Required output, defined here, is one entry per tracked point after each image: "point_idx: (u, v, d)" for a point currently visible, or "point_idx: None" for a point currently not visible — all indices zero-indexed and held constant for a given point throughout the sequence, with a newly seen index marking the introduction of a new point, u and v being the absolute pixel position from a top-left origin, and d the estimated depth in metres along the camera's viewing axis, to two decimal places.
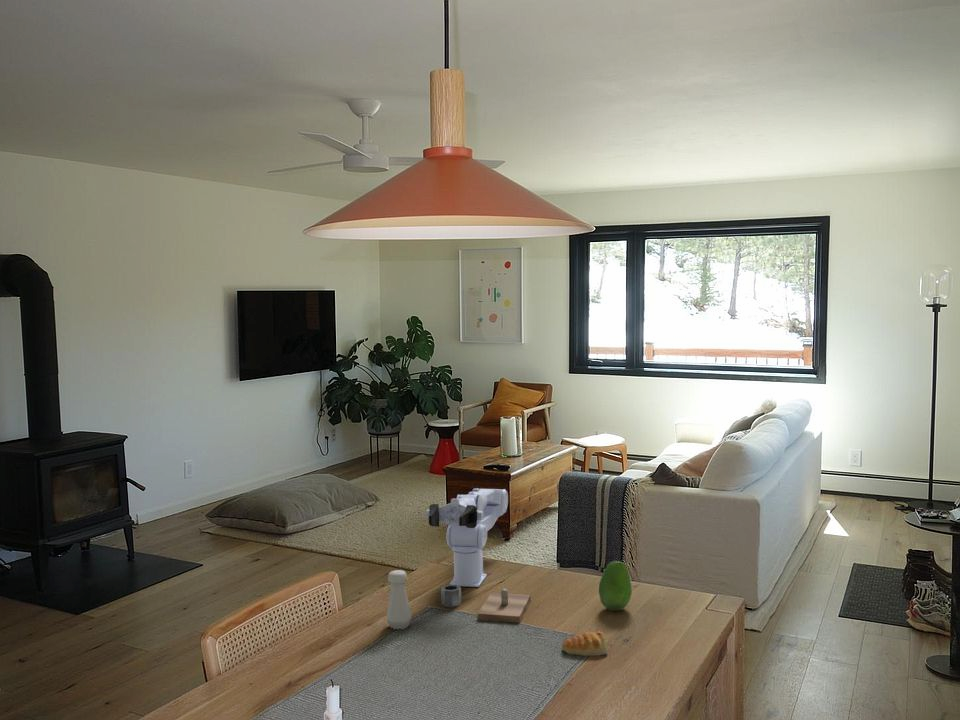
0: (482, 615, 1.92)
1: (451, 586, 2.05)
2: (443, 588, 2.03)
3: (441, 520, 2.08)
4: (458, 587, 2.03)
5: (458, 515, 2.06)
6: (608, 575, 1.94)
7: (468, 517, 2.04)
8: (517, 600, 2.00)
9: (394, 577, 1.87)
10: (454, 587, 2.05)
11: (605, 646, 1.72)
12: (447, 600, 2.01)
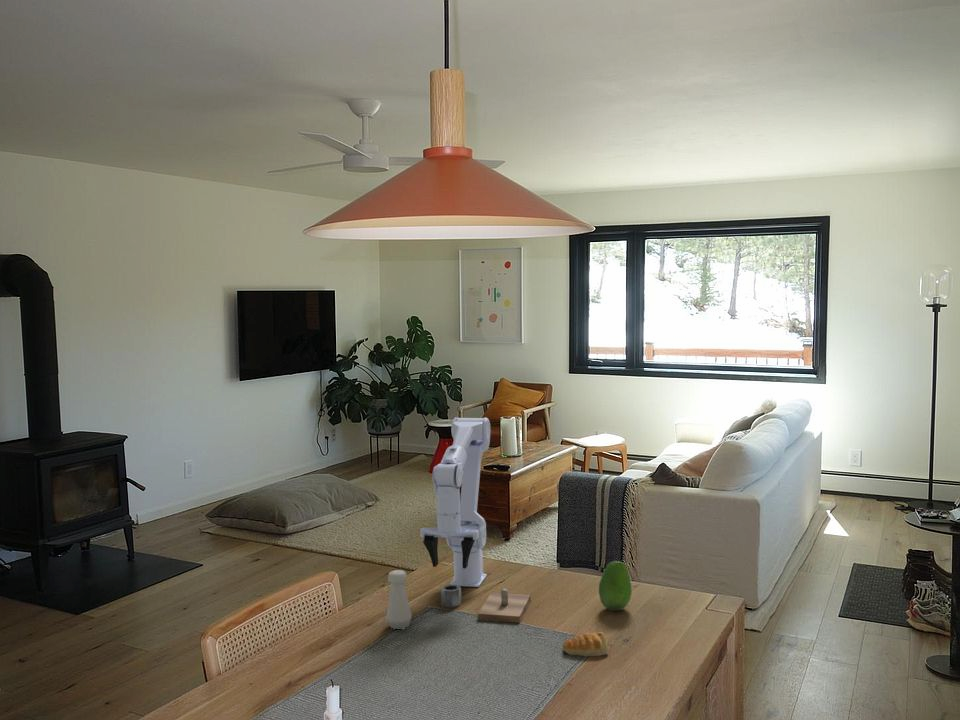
0: (482, 615, 1.92)
1: (451, 586, 2.05)
2: (443, 588, 2.03)
3: None
4: (458, 587, 2.03)
5: None
6: (608, 575, 1.94)
7: None
8: (517, 600, 2.00)
9: (394, 577, 1.87)
10: (454, 587, 2.05)
11: (606, 646, 1.72)
12: (447, 600, 2.01)
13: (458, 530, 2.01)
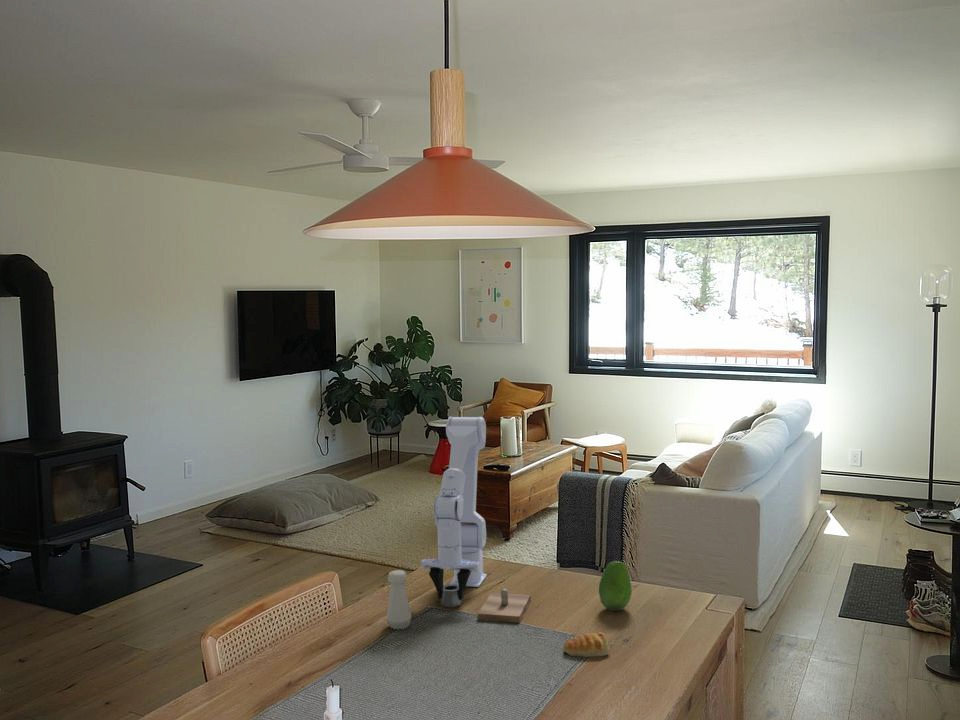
0: (482, 615, 1.92)
1: (451, 586, 2.05)
2: (443, 588, 2.03)
3: None
4: (458, 587, 2.03)
5: None
6: (608, 575, 1.94)
7: None
8: (517, 600, 2.00)
9: (394, 577, 1.87)
10: (454, 587, 2.05)
11: (607, 647, 1.72)
12: (447, 600, 2.01)
13: (459, 562, 2.01)
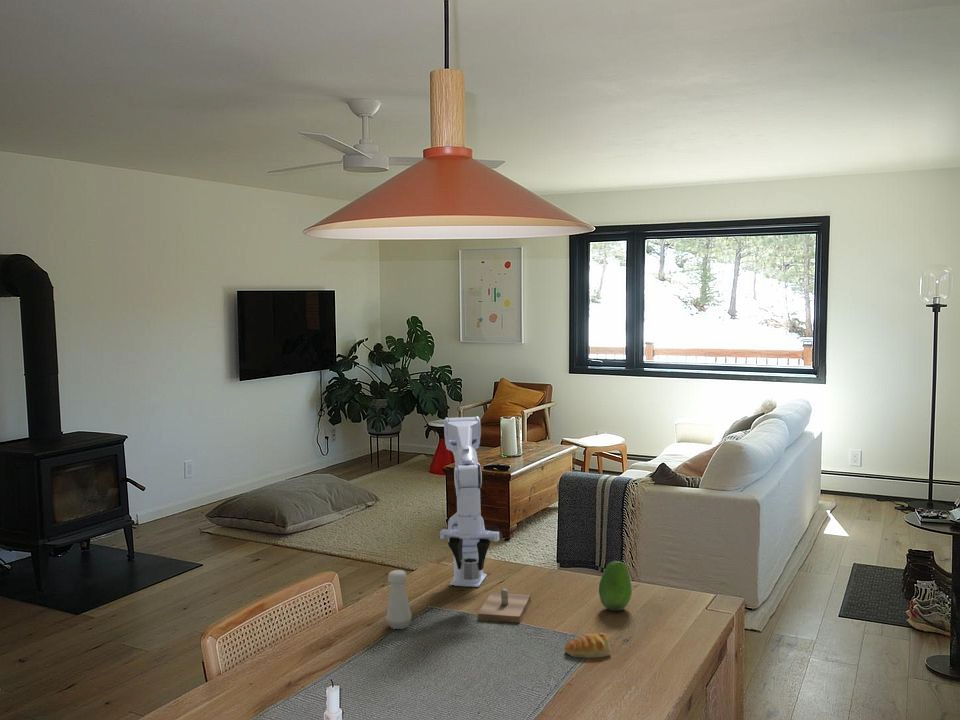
0: (482, 615, 1.92)
1: (470, 559, 2.02)
2: (462, 560, 2.00)
3: None
4: (477, 560, 2.01)
5: None
6: (608, 575, 1.94)
7: None
8: (517, 600, 2.00)
9: (394, 577, 1.87)
10: (473, 560, 2.02)
11: (608, 647, 1.72)
12: (466, 572, 1.99)
13: (479, 532, 1.99)
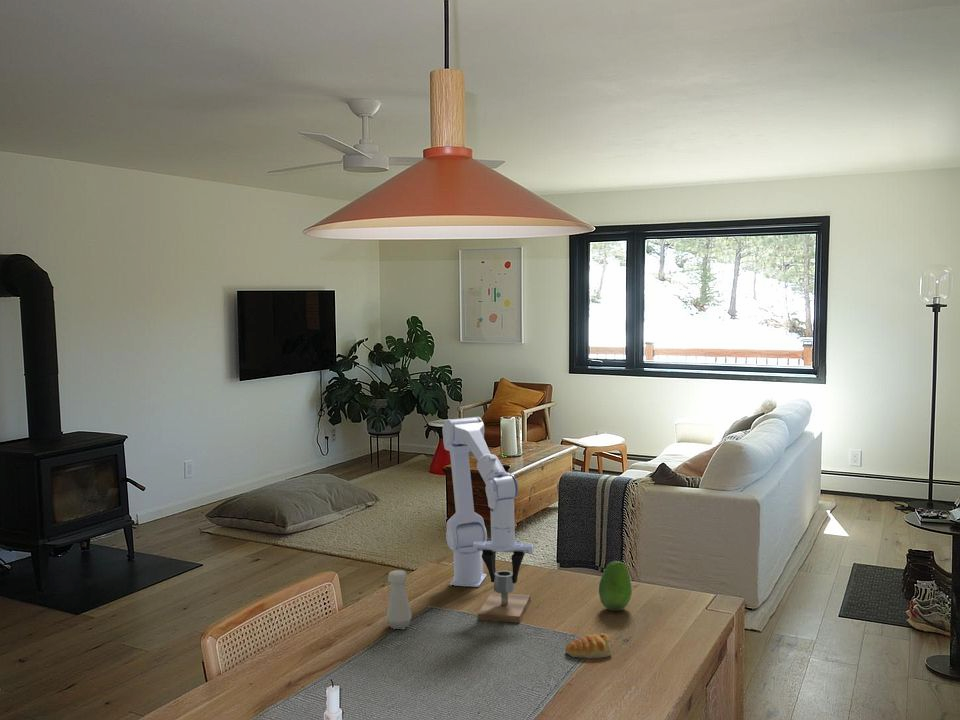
0: (482, 615, 1.92)
1: (504, 572, 1.99)
2: (496, 574, 1.97)
3: None
4: (511, 573, 1.98)
5: None
6: (608, 575, 1.94)
7: None
8: (517, 600, 2.00)
9: (394, 577, 1.87)
10: (507, 573, 1.99)
11: (609, 648, 1.71)
12: (501, 586, 1.96)
13: (513, 544, 1.96)
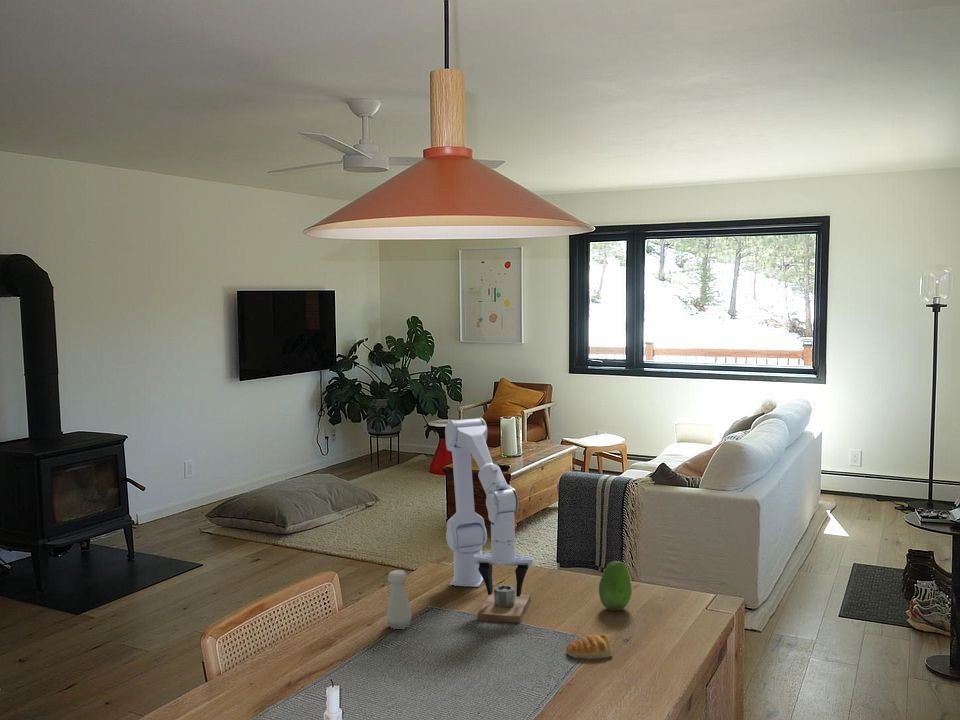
0: (482, 615, 1.92)
1: (504, 586, 1.99)
2: (496, 588, 1.97)
3: None
4: (512, 587, 1.98)
5: None
6: (608, 575, 1.94)
7: None
8: (517, 600, 2.00)
9: (394, 577, 1.87)
10: (507, 587, 1.99)
11: (610, 648, 1.71)
12: (501, 600, 1.96)
13: (513, 557, 1.96)
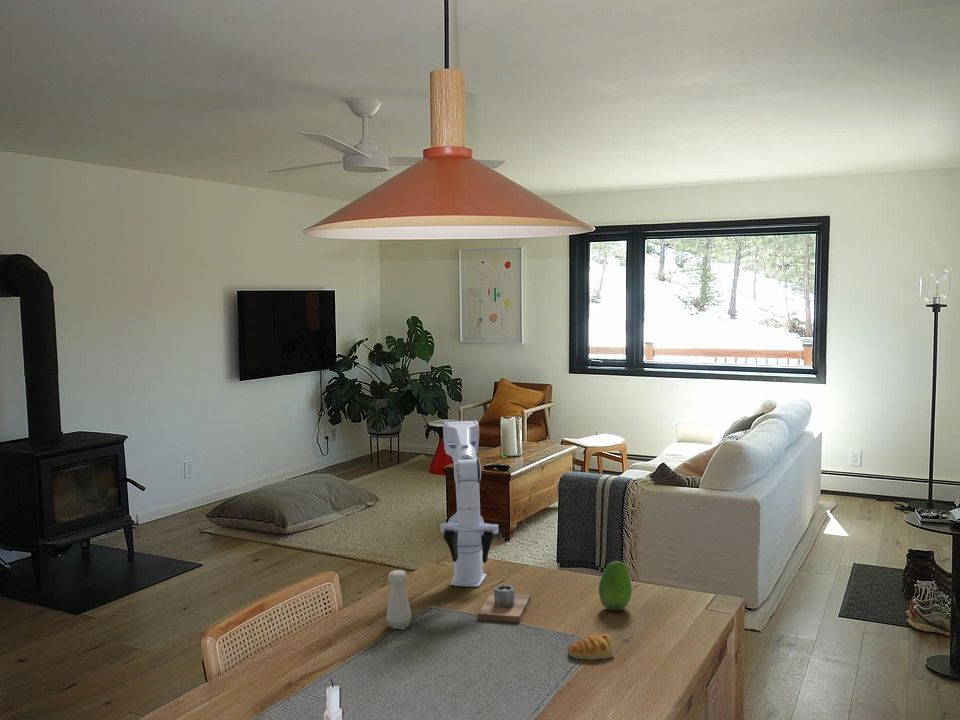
0: (482, 615, 1.92)
1: (504, 586, 1.99)
2: (496, 588, 1.97)
3: None
4: (512, 587, 1.98)
5: None
6: (608, 575, 1.94)
7: None
8: (517, 600, 2.00)
9: (394, 577, 1.87)
10: (507, 587, 1.99)
11: (612, 649, 1.71)
12: (501, 600, 1.96)
13: (478, 524, 2.03)
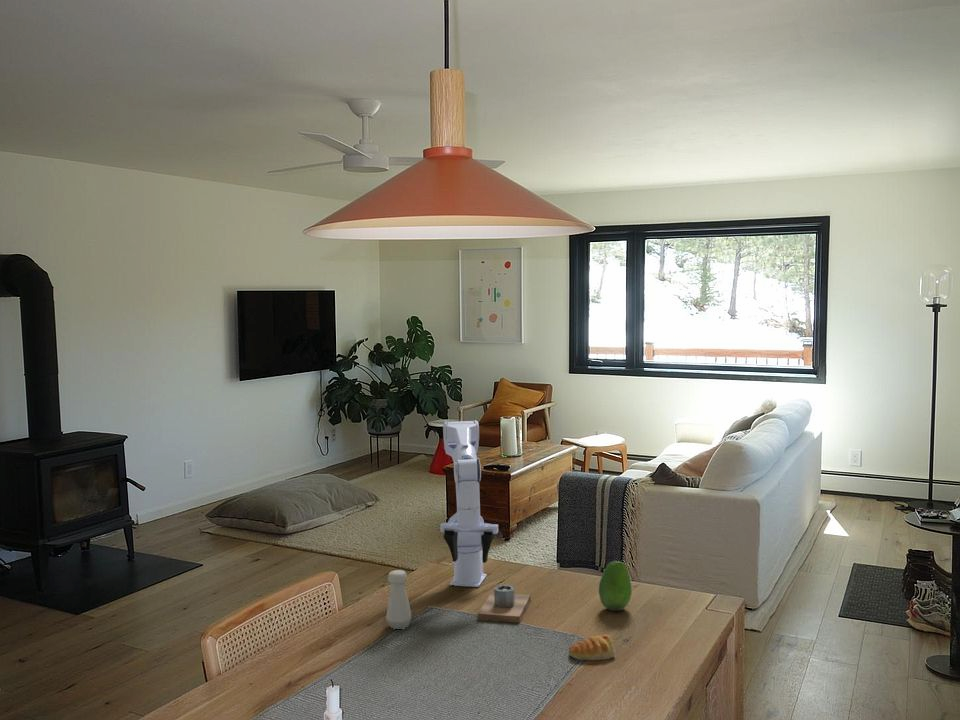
0: (482, 615, 1.92)
1: (504, 586, 1.99)
2: (496, 588, 1.97)
3: None
4: (512, 587, 1.98)
5: None
6: (608, 575, 1.94)
7: None
8: (517, 600, 2.00)
9: (394, 577, 1.87)
10: (507, 587, 1.99)
11: (613, 649, 1.71)
12: (501, 600, 1.96)
13: (478, 524, 2.03)
